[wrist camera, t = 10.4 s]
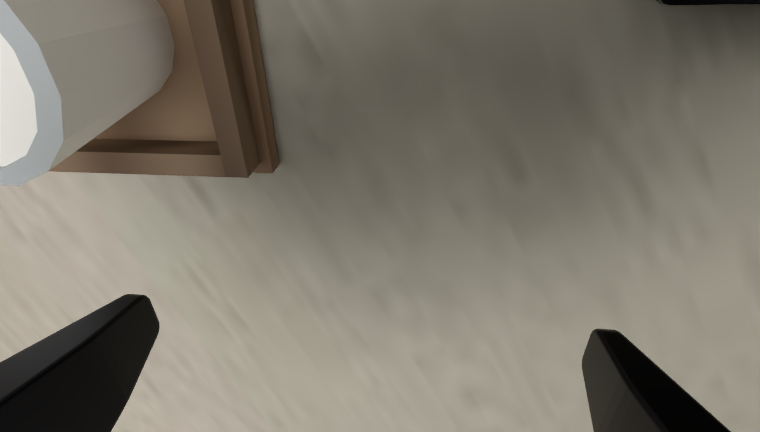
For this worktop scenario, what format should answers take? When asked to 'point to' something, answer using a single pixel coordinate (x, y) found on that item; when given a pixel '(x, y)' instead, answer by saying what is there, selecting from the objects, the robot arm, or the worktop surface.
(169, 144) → the walnut holder
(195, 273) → the worktop surface
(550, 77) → the worktop surface
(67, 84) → the white cup
